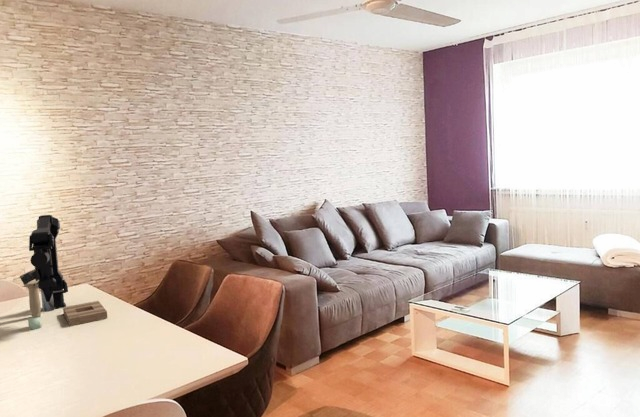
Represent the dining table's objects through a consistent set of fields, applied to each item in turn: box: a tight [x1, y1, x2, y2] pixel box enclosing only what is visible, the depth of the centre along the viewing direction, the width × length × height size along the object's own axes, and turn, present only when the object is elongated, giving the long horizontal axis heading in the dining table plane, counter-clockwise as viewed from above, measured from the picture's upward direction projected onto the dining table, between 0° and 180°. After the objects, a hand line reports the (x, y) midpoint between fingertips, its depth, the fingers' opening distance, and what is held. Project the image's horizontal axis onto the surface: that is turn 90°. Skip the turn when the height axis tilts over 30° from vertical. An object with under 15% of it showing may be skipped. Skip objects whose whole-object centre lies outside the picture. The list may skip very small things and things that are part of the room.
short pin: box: [27, 316, 42, 331], centre depth 191 cm, size 4×4×4 cm
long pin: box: [40, 289, 55, 313], centre depth 195 cm, size 4×4×10 cm
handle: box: [23, 280, 42, 318], centre depth 205 cm, size 5×6×15 cm
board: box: [62, 300, 108, 327], centre depth 203 cm, size 20×14×3 cm
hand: (47, 300), depth 195 cm, fingers closed on long pin, 4 cm apart
